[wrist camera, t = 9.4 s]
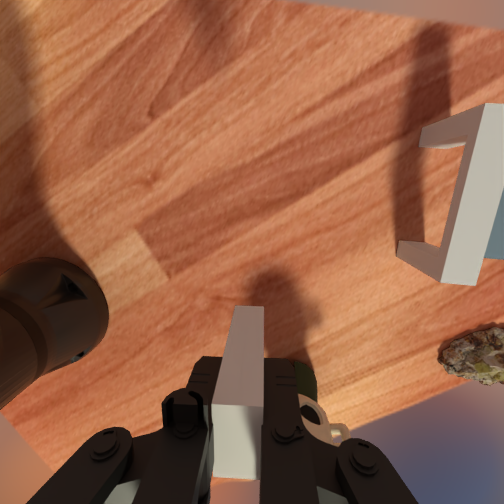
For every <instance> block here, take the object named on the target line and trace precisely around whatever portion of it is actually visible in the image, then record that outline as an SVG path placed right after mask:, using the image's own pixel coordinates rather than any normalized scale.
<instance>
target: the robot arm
mask: <svg viewBox="0 0 504 504" xmlns="http://www.w3.org/2000/svg"><path fill="white" fill-rule="evenodd" d="M108 319H109V316H108V308H107V304H106V301H105V298H104V296H103V294H102V292H101V290H100V288H99V287H98V286H97V284H96V283H95V282H94V280H93V279H92V278H91V277H90V276H89V275H88V274H86V273H85V272H84V271H83V270H81V269H80V268H78V267H77V266H75V265H73V264H71V263H69V262H66V261H63V260H60V259H55V258H38V259H34V260H31V261H27V262H24V263H21V264H18V265H16V266H14V267H12V268H10V269H8V270H7V271H6V272H4V273H3V274H2V275H1V276H0V410H1V409H2V408H3V407H4V406H5V405H7V404H8V403H9V402H10V401H11V400H13V399H14V398H15V397H16V396H17V395H18V394H20V393H21V392H22V391H23V390H24V389H26V388H27V387H28V386H29V385H30V384H32V383H33V382H34V381H35V380H36V379H38V378H39V377H41V376H43V375H45V374H48V373H50V372H52V371H55V370H57V369H59V368H62V367H64V366H67V365H69V364H71V363H74V362H76V361H78V360H80V359H82V358H83V357H85V356H86V355H87V354H88V353H90V352H91V351H92V350H93V349H94V348H95V347H96V346H97V345H98V344H99V343H100V342H101V341H102V339H103V337H104V336H105V333H106V331H107V327H108ZM161 404H162V417H163V428H162V429H160V430H158V431H156V432H153V433H150V434H146V435H142V436H138V437H134V438H132V436H131V434H130V432H129V431H128V430H126V429H125V428H123V427H111V428H107V429H104V430H102V431H100V432H98V433H96V434H94V435H93V436H92V437H91V438H89V439H88V440H87V441H86V442H85V443H84V444H83V445H82V446H81V447H80V448H79V449H78V450H77V451H76V452H75V453H74V454H73V455H72V456H71V457H70V458H69V459H68V460H67V461H66V462H65V464H64V465H63V466H62V467H61V468H60V469H59V470H58V471H57V472H56V473H55V474H54V475H53V476H52V477H51V478H50V479H49V480H48V481H47V482H46V483H45V484H44V485H43V486H42V487H41V488H40V489H39V490H38V492H37V493H36V494H35V495H34V496H33V497H32V498H31V499H30V500H29V501H28V502H27V503H26V504H209V503H210V482H211V476H212V471H213V477H224V478H240V479H257V480H260V503H259V504H418V502H417V501H416V499H415V498H414V496H413V495H412V494H411V492H410V490H409V489H408V488H407V486H406V485H405V483H404V482H403V480H402V479H401V477H400V476H399V474H398V473H397V472H396V470H395V469H394V467H393V466H392V464H391V463H390V461H389V460H388V458H387V457H386V456H385V455H384V454H383V453H382V451H381V450H380V449H379V448H378V447H376V446H375V445H373V444H371V443H370V442H368V441H365V440H362V439H359V438H349V439H347V440H345V441H342V443H341V444H340V445H339V447H337V446H334V445H332V444H329V443H326V442H324V441H321V440H319V439H317V438H316V437H315V436H313V435H312V434H311V433H310V432H309V431H308V430H307V429H306V427H305V425H304V424H303V420H302V416H301V410H300V403H299V397H298V391H297V384H296V379H295V371H294V367H293V365H292V364H291V363H290V361H289V360H288V359H280V358H264V306H236V305H235V309H234V313H233V317H232V321H231V326H230V330H229V334H228V338H227V342H226V346H225V350H224V354H223V357H211V356H203V357H202V358H201V359H200V360H199V361H197V362H196V363H195V365H194V368H193V370H192V373H191V376H190V378H189V381H188V383H187V386H186V388H181V389H179V390H176V391H173V392H172V393H171V394H169V395H168V396H166V398H165V399H164V400H163V402H162V403H161Z"/></svg>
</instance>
